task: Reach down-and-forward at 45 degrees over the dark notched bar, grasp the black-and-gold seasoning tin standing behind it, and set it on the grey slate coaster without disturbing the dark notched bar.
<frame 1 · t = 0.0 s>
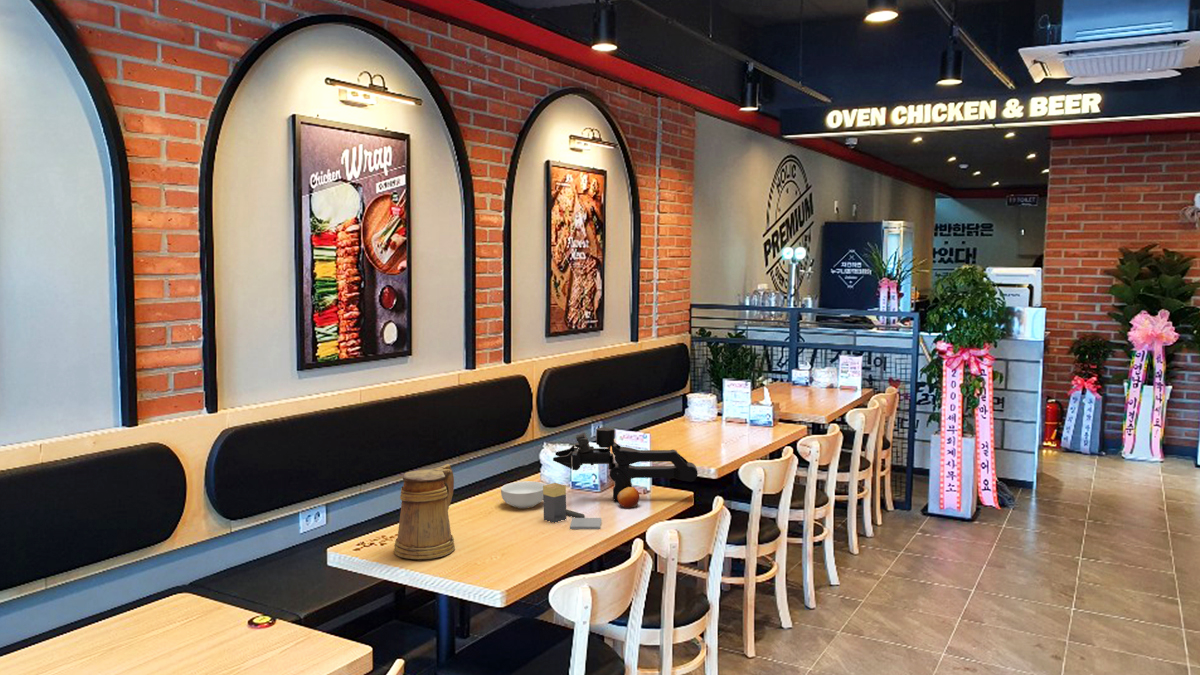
hand: (554, 456, 329), 17 cm above the table, tool horizontal, fingers open, 9 cm apart
seasoning tin: (555, 519, 306), on the table
tankard: (430, 549, 277), on the table
fruit: (628, 506, 322), on the table
cereal bowl: (524, 506, 324), on the table
coaster: (585, 525, 299), on the table
dark notched bar: (570, 516, 311), on the table
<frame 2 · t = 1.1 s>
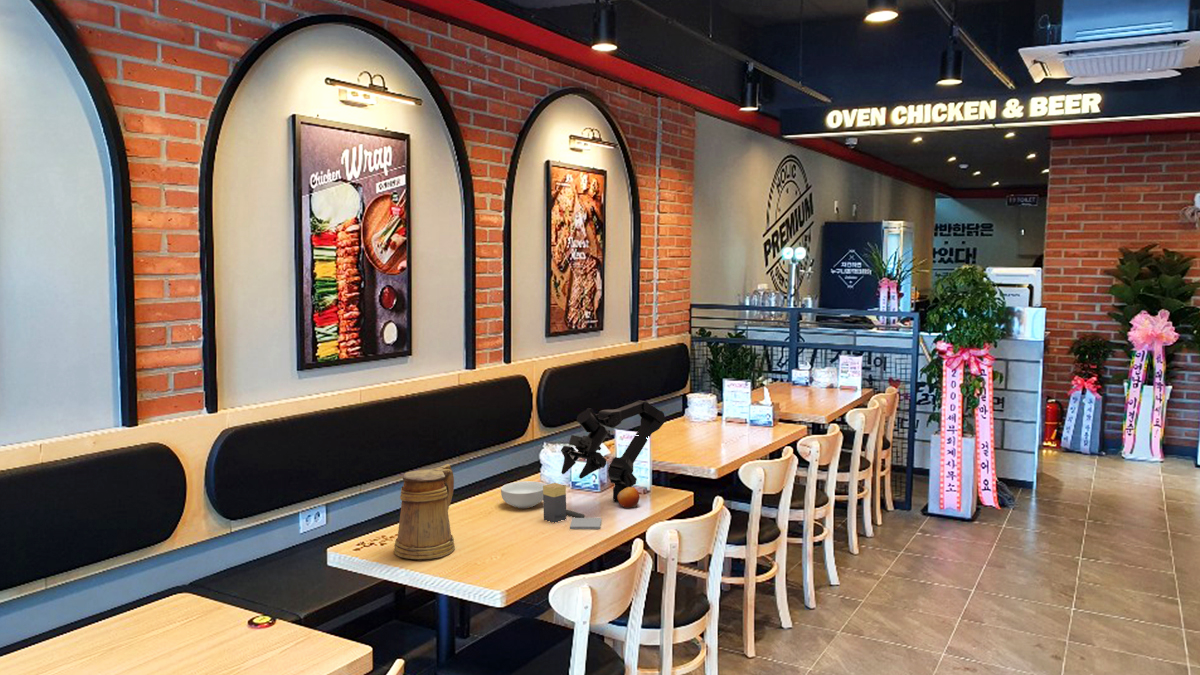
hand: (571, 475, 310), 14 cm above the table, tool tilted 45°, fingers open, 9 cm apart
nothing on the table moved.
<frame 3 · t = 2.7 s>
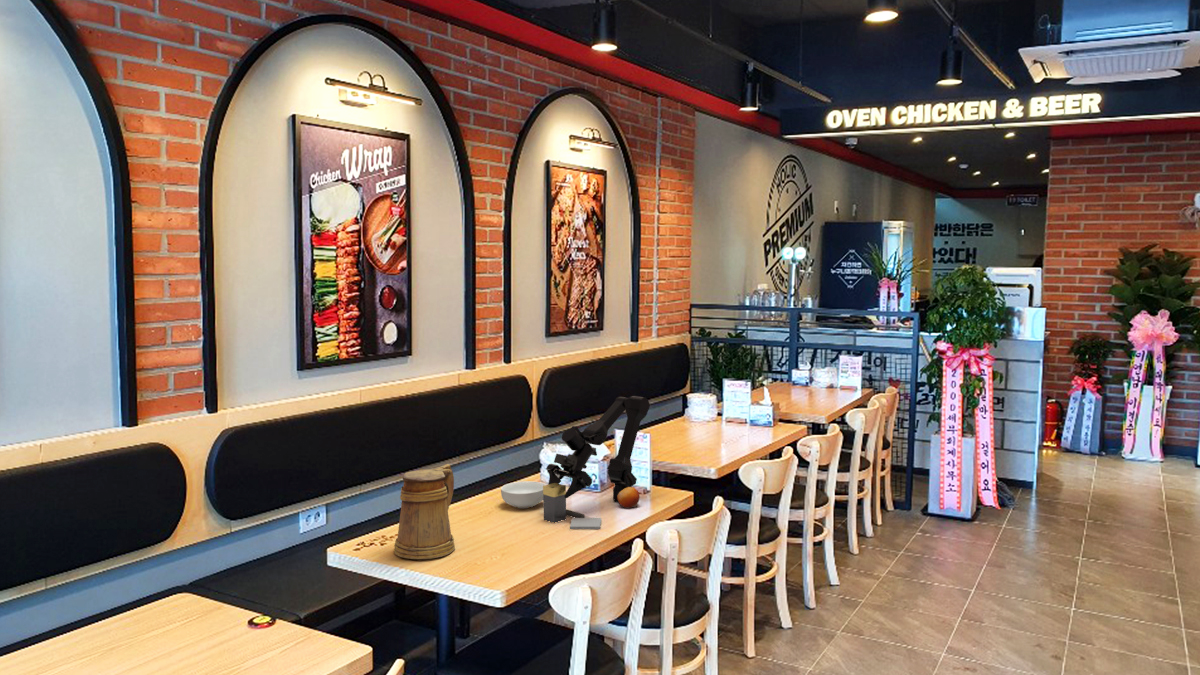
hand: (556, 495, 306), 9 cm above the table, tool tilted 45°, fingers open, 9 cm apart
nothing on the table moved.
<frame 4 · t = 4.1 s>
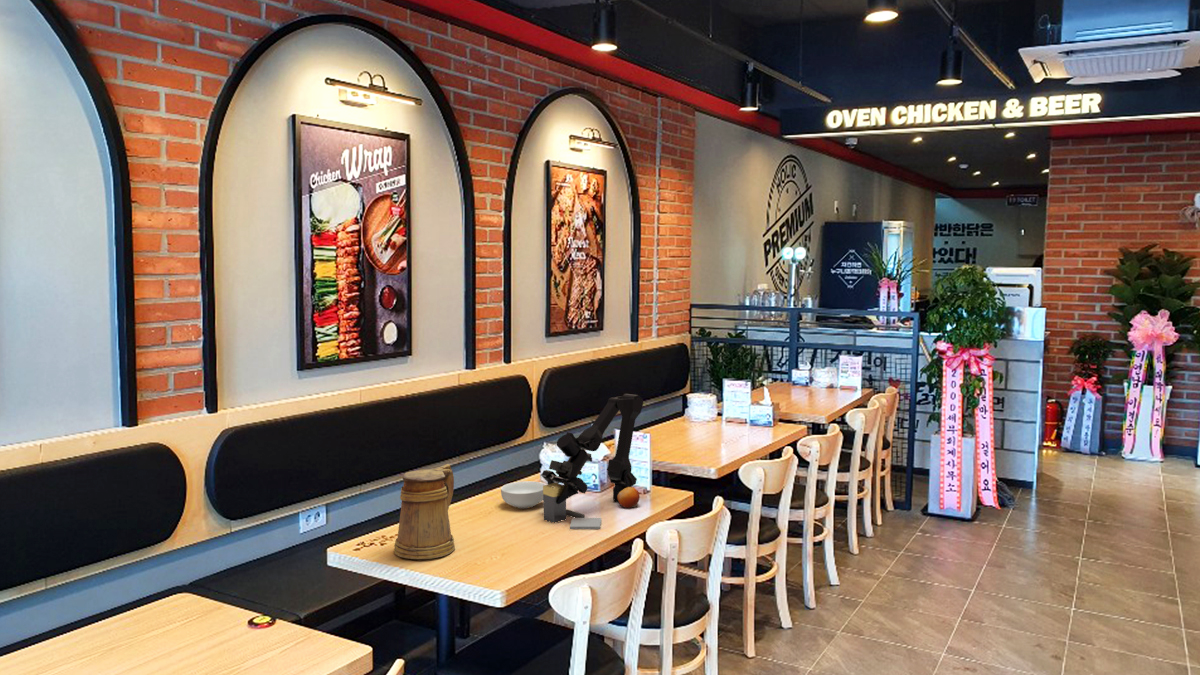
hand: (551, 501, 304), 7 cm above the table, tool tilted 45°, fingers closed on seasoning tin, 5 cm apart
seasoning tin: (555, 519, 306), on the table, touching gripper
everything else where it was.
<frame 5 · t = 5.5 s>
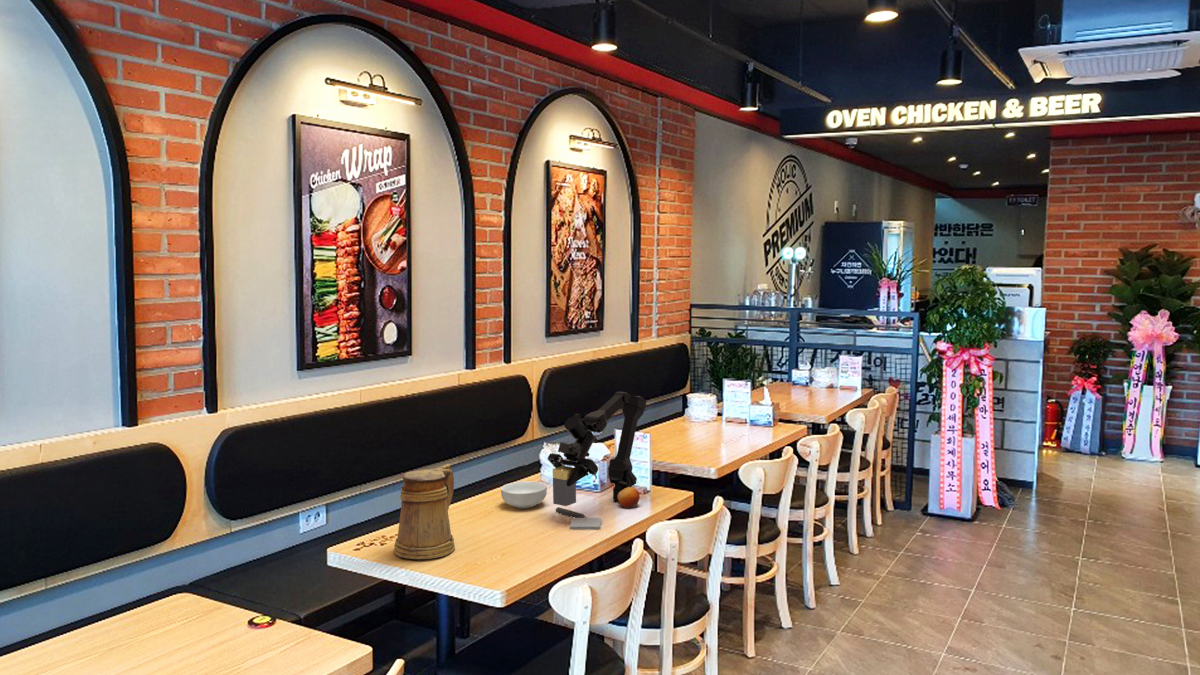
hand: (561, 484, 301), 13 cm above the table, tool tilted 45°, fingers closed on seasoning tin, 5 cm apart
seasoning tin: (564, 503, 303), point 7 cm above the table, touching gripper
everything else where it was.
when the fingers open (8 cm above the table, at t = 7.4 s): seasoning tin stays where it is, resting on coaster.
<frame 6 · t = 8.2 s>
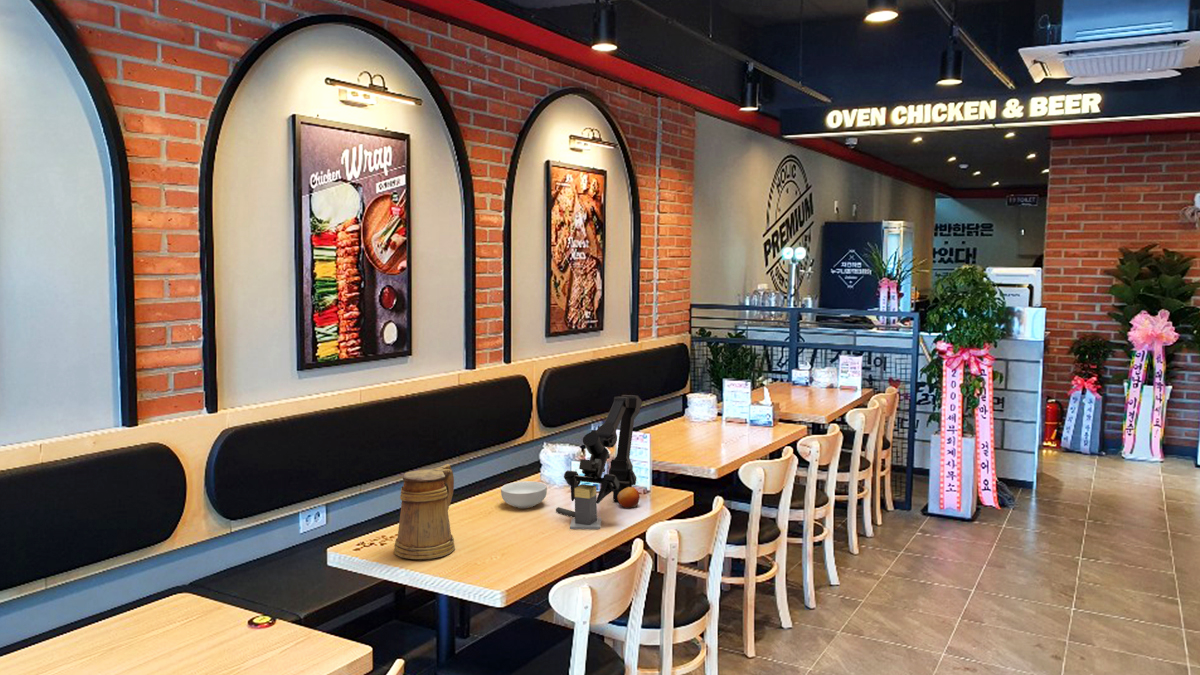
hand: (584, 501, 298), 8 cm above the table, tool tilted 45°, fingers open, 9 cm apart
seasoning tin: (586, 522, 299), point 1 cm above the table, touching coaster
everything else where it was.
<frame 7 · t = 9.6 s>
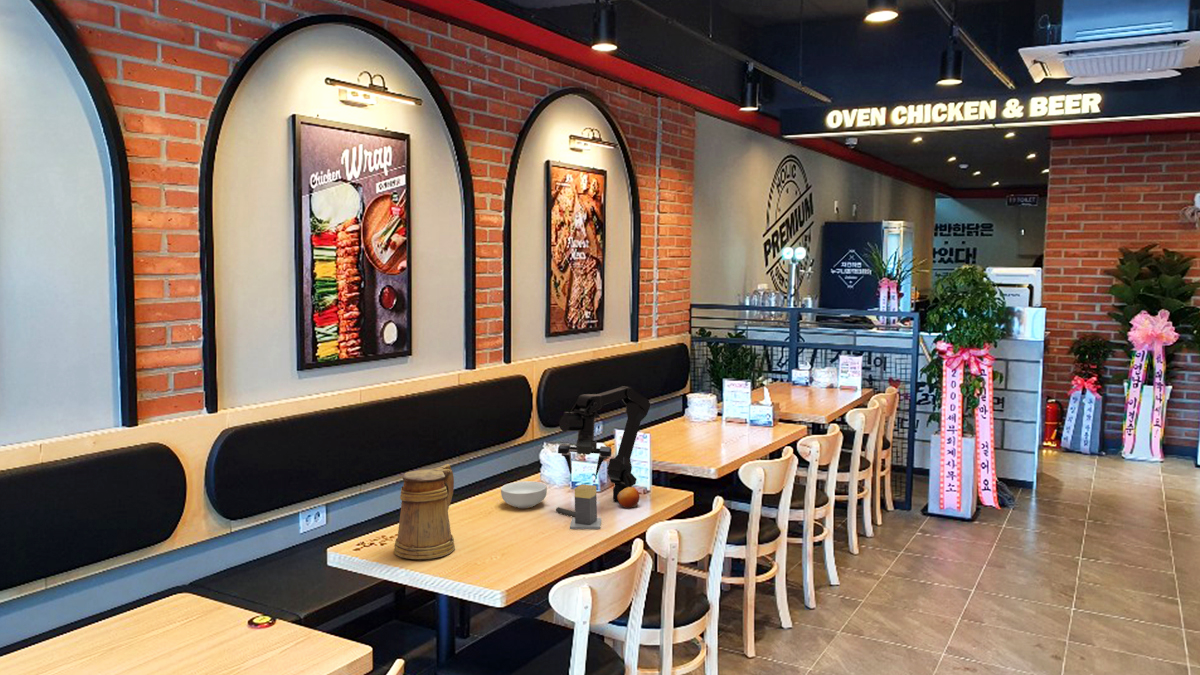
hand: (583, 474, 316), 13 cm above the table, tool pointing down, fingers open, 9 cm apart
nothing on the table moved.
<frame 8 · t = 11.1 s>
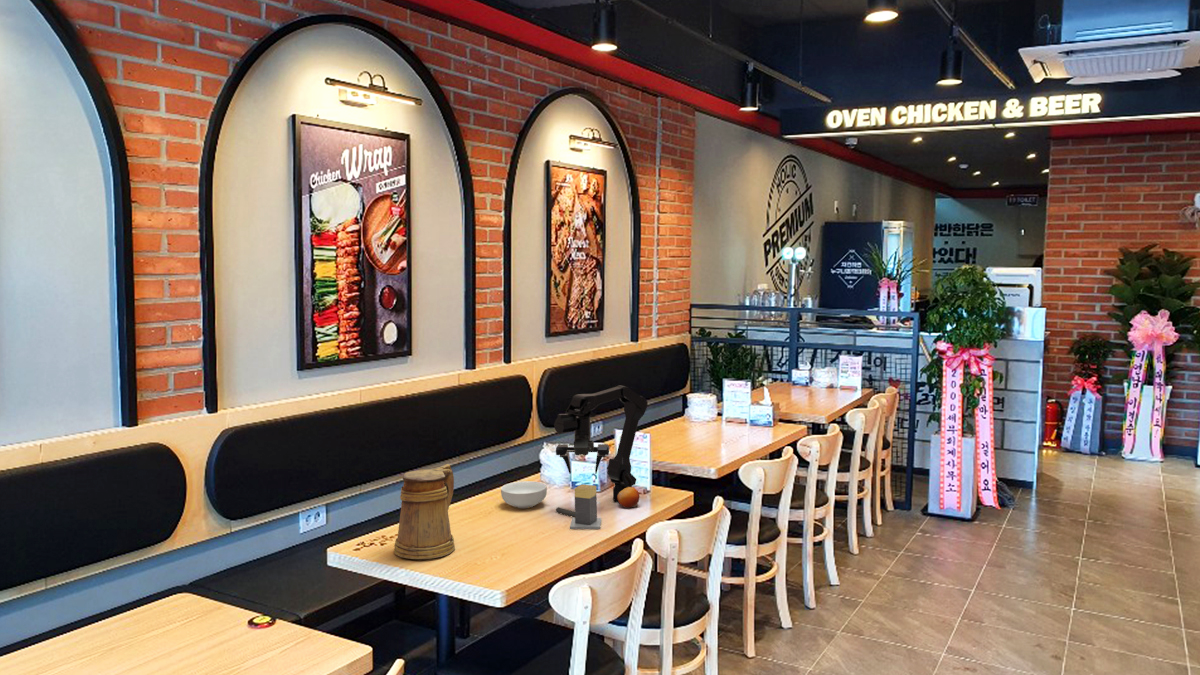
hand: (583, 473, 317), 13 cm above the table, tool pointing down, fingers open, 9 cm apart
nothing on the table moved.
at the end: seasoning tin 0.1 cm from the coaster (horizontally); seasoning tin tilted 0°; dark notched bar moved 0.2 cm from its start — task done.
